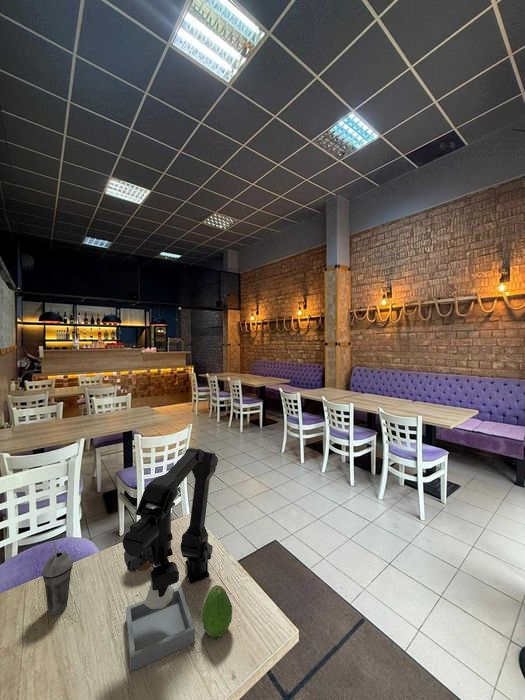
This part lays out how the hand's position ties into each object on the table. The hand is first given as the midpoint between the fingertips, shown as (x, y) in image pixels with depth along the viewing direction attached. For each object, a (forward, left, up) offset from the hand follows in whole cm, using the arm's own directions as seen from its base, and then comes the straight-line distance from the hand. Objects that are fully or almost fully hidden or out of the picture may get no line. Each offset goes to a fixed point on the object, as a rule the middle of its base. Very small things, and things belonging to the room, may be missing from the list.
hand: (159, 588), depth 79 cm
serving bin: (0, 0, -11) cm, 11 cm away
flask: (0, 0, -3) cm, 3 cm away
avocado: (-13, +8, -11) cm, 19 cm away
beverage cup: (+25, -20, -11) cm, 34 cm away
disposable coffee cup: (+1, -27, -11) cm, 30 cm away
